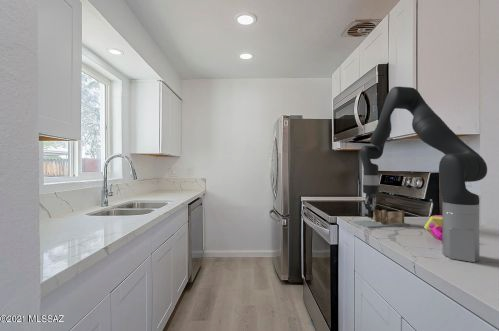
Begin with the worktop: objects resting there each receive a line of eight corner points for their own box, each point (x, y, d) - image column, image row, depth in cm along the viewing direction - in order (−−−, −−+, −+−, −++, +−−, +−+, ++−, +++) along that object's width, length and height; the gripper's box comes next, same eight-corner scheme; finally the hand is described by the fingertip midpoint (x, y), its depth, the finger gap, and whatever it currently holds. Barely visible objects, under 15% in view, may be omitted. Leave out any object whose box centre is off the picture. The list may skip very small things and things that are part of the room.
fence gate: (383, 222, 130) (383, 209, 130) (380, 222, 130) (380, 209, 130) (373, 218, 139) (373, 206, 139) (370, 218, 139) (370, 206, 139)
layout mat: (368, 227, 123) (368, 226, 123) (353, 222, 135) (353, 221, 135) (410, 225, 127) (409, 224, 127) (392, 220, 139) (392, 219, 139)
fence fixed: (383, 225, 127) (383, 210, 127) (380, 225, 129) (380, 209, 129) (405, 224, 129) (405, 209, 129) (402, 224, 131) (402, 209, 131)
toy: (423, 243, 100) (438, 223, 96) (418, 221, 116) (431, 203, 111) (452, 257, 97) (469, 236, 93) (443, 232, 112) (457, 213, 108)
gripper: (373, 185, 127) (373, 220, 127) (383, 183, 136) (383, 217, 136) (358, 184, 133) (357, 218, 133) (368, 183, 142) (368, 215, 142)
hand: (370, 217), depth 135 cm, fingers closed
